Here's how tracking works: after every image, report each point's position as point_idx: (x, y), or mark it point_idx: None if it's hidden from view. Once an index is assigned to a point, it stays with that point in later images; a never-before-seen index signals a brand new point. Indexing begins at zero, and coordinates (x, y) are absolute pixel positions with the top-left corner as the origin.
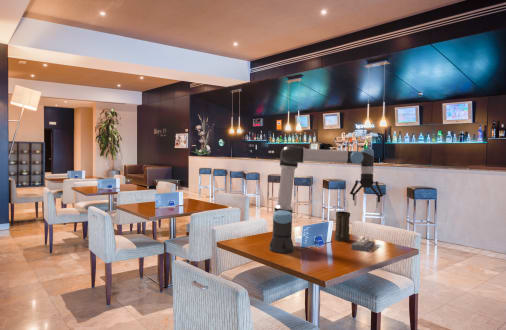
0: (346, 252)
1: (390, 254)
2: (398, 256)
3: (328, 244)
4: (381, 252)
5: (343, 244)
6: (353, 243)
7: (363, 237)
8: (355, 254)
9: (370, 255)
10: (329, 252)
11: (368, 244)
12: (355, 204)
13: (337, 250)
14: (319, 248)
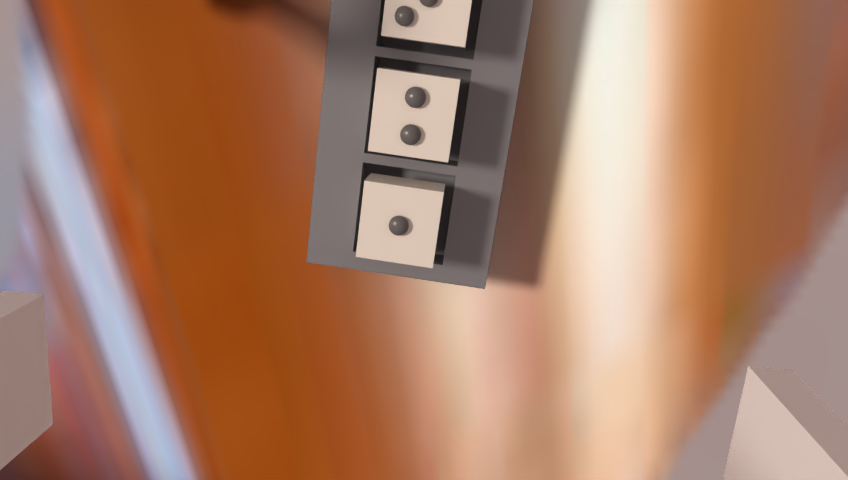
0: (303, 397)
1: (713, 257)
2: (789, 297)
3: (56, 168)
4: (623, 222)
5: (192, 72)
6: (315, 202)
7: (398, 14)
8: (390, 425)
9: (523, 394)
10: (171, 469)
11: (482, 159)
12: (24, 425)
13: (211, 367)
14: None
